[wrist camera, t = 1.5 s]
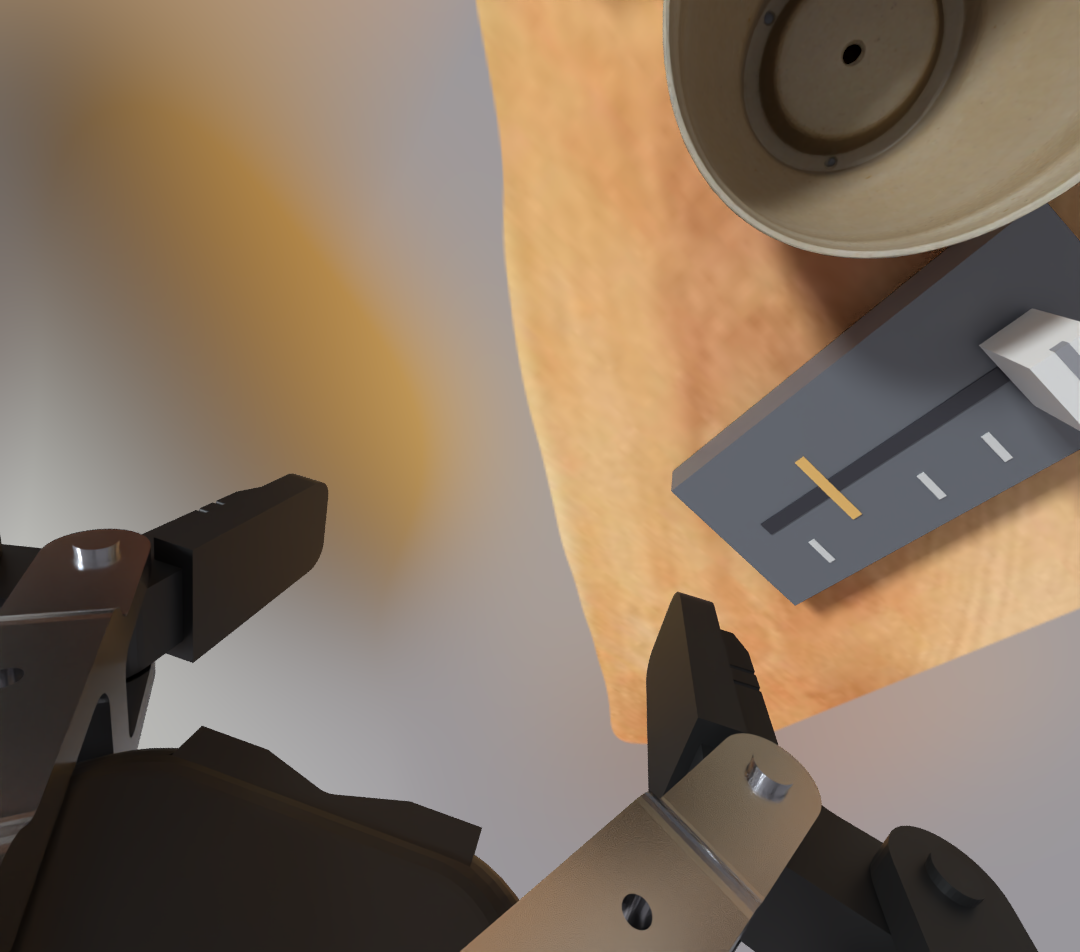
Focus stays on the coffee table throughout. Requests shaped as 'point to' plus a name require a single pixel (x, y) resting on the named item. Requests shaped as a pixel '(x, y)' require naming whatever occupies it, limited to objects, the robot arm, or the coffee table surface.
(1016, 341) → the fader knob
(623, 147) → the coffee table surface
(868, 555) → the slide fader base
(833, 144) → the planter bowl
